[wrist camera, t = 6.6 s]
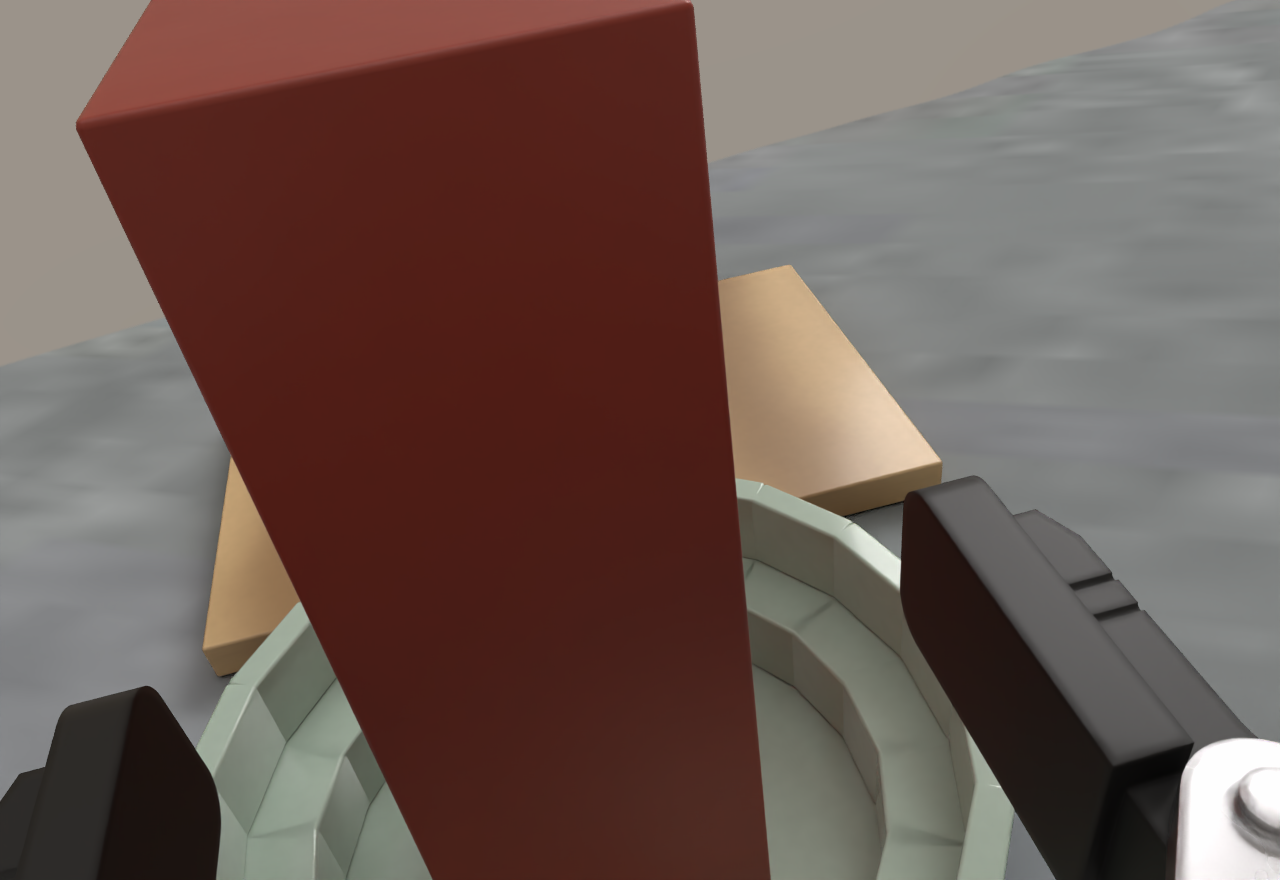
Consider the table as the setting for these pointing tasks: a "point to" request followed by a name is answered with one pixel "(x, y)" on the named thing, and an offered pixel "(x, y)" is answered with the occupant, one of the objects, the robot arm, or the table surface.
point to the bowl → (786, 720)
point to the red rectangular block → (471, 397)
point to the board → (761, 438)
